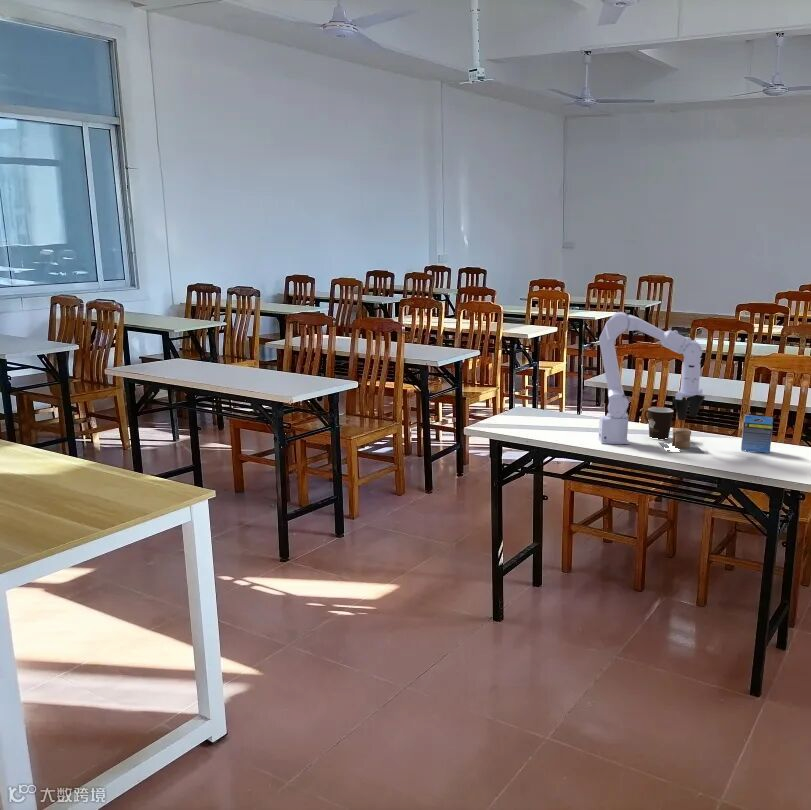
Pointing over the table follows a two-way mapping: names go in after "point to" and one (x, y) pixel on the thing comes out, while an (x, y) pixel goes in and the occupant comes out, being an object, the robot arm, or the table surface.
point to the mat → (691, 449)
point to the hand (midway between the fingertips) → (687, 418)
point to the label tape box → (757, 434)
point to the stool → (681, 438)
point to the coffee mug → (659, 422)
